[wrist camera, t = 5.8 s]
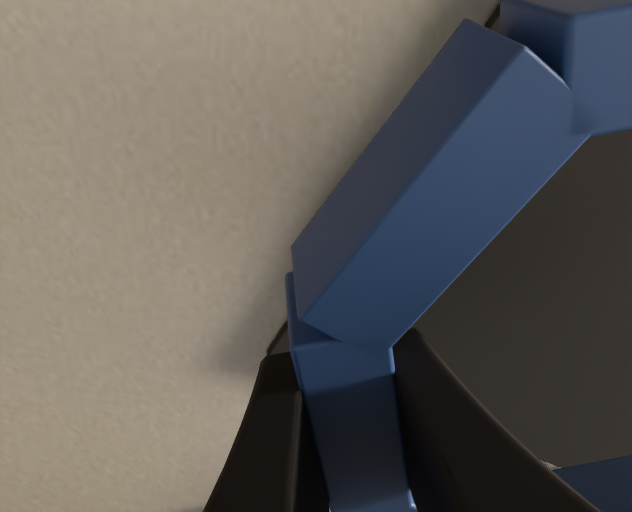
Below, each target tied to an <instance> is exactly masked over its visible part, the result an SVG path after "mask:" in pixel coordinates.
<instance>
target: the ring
mask: <svg viewBox="0 0 632 512" xmlns="http://www.w3.org/2000/svg"><path fill="white" fill-rule="evenodd" d="M630 129H632V0H501V2H500V34H499V33H497V32H495V31H493V30H490V29H488V28H486V27H484V26H482V25H480V24H477V23H475V22H473V21H471V20H469V19H465V20H463V21H462V23H461V24H460V25H459V26H458V28H457V29H456V30H455V32H454V33H453V34H452V36H451V37H450V38H449V40H448V41H447V42H446V44H445V45H444V46H443V47H442V49H441V50H440V51H439V53H438V54H437V55H436V57H435V58H434V59H433V61H432V62H431V63H430V65H429V66H428V67H427V68H426V70H425V71H424V72H423V74H422V75H421V76H420V78H419V79H418V80H417V82H416V83H415V84H414V86H413V87H412V88H411V89H410V91H409V92H408V93H407V95H406V96H405V97H404V99H403V100H402V101H401V103H400V104H399V105H398V107H397V108H396V109H395V110H394V112H393V113H392V114H391V116H390V117H389V118H388V120H387V121H386V122H385V124H384V125H383V126H382V128H381V129H380V130H379V131H378V133H377V134H376V135H375V137H374V138H373V139H372V141H371V142H370V143H369V145H368V146H367V147H366V149H365V150H364V151H363V152H362V154H361V155H360V156H359V158H358V159H357V160H356V162H355V163H354V164H353V166H352V167H351V168H350V169H349V171H348V172H347V173H346V175H345V176H344V177H343V179H342V180H341V181H340V183H339V184H338V185H337V187H336V188H335V189H334V190H333V192H332V193H331V194H330V196H329V197H328V198H327V200H326V201H325V202H324V204H323V205H322V206H321V208H320V209H319V210H318V211H317V213H316V214H315V215H314V217H313V218H312V219H311V221H310V222H309V223H308V225H307V226H306V227H305V229H304V230H303V231H302V232H301V234H300V235H299V236H298V238H297V239H296V240H295V242H294V243H293V244H292V246H291V253H292V264H293V272H289V273H287V274H286V275H285V288H286V302H287V317H288V331H289V345H290V353H291V357H292V361H293V365H294V369H295V373H296V377H297V381H298V384H299V388H300V389H301V393H302V397H303V401H304V405H305V409H306V413H307V417H308V421H309V425H310V429H311V433H312V437H313V441H314V445H315V449H316V453H317V456H318V460H319V464H320V468H321V472H322V476H323V480H324V484H325V488H326V492H327V496H328V500H329V507H330V511H331V512H418V511H417V508H416V506H415V503H414V500H413V497H412V494H411V491H410V488H409V481H408V473H407V465H406V458H405V450H404V442H403V435H402V427H401V419H400V412H399V404H398V396H397V389H396V381H395V373H394V372H395V365H394V358H393V350H392V346H393V345H394V344H395V343H396V342H397V341H398V340H399V339H400V338H401V337H402V336H403V335H404V334H405V332H406V331H407V330H408V329H409V328H410V327H411V326H412V325H413V324H414V323H415V322H416V321H417V320H418V319H419V318H420V317H421V315H422V314H423V313H424V312H425V311H426V310H427V309H428V308H429V307H430V306H431V305H432V304H433V303H434V302H435V301H436V299H437V298H438V297H439V296H440V295H441V294H442V293H443V292H444V291H445V290H446V289H447V288H448V287H449V286H450V285H451V283H452V282H453V281H454V280H455V279H456V278H457V277H458V276H459V275H460V274H461V273H462V272H463V271H464V270H465V269H466V268H467V266H468V265H469V264H470V263H471V262H472V261H473V260H474V259H475V258H476V257H477V256H478V255H479V254H480V253H481V252H482V250H483V249H484V248H485V247H486V246H487V245H488V244H489V243H490V242H491V241H492V240H493V239H494V238H495V237H496V236H497V234H498V233H499V232H500V231H501V230H502V229H503V228H504V227H505V226H506V225H507V224H508V223H509V222H510V221H511V220H512V219H513V217H514V216H515V215H516V214H517V213H518V212H519V211H520V210H521V209H522V208H523V207H524V206H525V205H526V204H527V203H528V201H529V200H530V199H531V198H532V197H533V196H534V195H535V194H536V193H537V192H538V191H539V190H540V189H541V188H542V187H543V185H544V184H545V183H546V182H547V181H548V180H549V179H550V178H551V177H552V176H553V175H554V174H555V173H556V172H557V171H558V170H559V168H560V167H561V166H562V165H563V164H564V163H565V162H566V161H567V160H568V159H569V158H570V157H571V156H572V155H573V154H574V152H575V151H576V150H577V149H578V148H579V147H580V146H581V145H582V144H583V143H584V142H585V141H586V140H587V139H588V138H589V137H593V136H598V135H604V134H609V133H614V132H619V131H624V130H630ZM552 471H553V472H554V473H555V474H557V475H558V476H559V477H560V478H561V479H562V480H564V481H565V482H566V483H567V484H568V485H569V486H571V487H572V488H573V489H574V490H576V491H577V492H578V493H579V494H580V495H582V496H583V497H584V498H585V499H587V500H588V501H589V502H590V503H592V504H593V505H594V506H595V507H596V508H598V509H599V510H600V511H601V512H632V455H630V456H624V457H619V458H614V459H608V460H603V461H597V462H592V463H586V464H581V465H576V466H570V467H565V468H559V469H554V470H552Z"/></svg>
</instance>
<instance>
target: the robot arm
mask: <svg viewBox="0 0 632 512" xmlns="http://www.w3.org/2000/svg"><path fill="white" fill-rule="evenodd" d="M392 350H393V358H394V365H395V372H394V373H395V381H396V389H397V396H398V404H399V412H400V419H401V427H402V435H403V442H404V450H405V458H406V465H407V473H408V481H409V488H410V491H411V494H412V497H413V500H414V503H415V506H416V508H417V511H418V512H601V511H600V510H599V509H598V508H596V507H595V506H594V505H593V504H592V503H590V502H589V501H588V500H587V499H585V498H584V497H583V496H582V495H580V494H579V493H578V492H577V491H576V490H574V489H573V488H572V487H571V486H569V485H568V484H567V483H566V482H565V481H564V480H562V479H561V478H560V477H559V476H558V475H557V474H555V473H554V472H553V471H552V470H551V469H550V468H549V467H547V466H546V465H545V464H544V463H543V462H542V461H541V460H540V459H538V458H537V457H536V456H535V455H534V454H533V453H532V452H531V451H530V450H529V449H528V448H527V447H525V446H524V445H523V444H522V443H521V442H520V441H519V440H518V439H517V438H516V437H515V436H514V435H513V434H512V433H511V432H510V431H509V430H508V429H506V428H505V427H504V426H503V425H502V424H501V423H500V422H499V421H498V420H497V419H496V418H495V417H494V416H493V415H492V413H491V412H490V411H489V410H488V409H487V408H486V407H485V406H484V405H483V404H482V403H481V402H480V401H479V400H478V399H477V398H476V397H475V396H474V395H473V394H472V393H471V392H470V391H469V389H468V388H467V387H466V386H465V385H464V384H463V383H462V382H461V381H460V379H459V378H458V377H457V376H456V375H455V374H454V373H453V371H452V370H451V369H450V368H449V367H448V366H447V364H446V363H445V362H444V361H443V360H442V358H441V357H440V356H439V355H438V353H437V352H436V351H435V350H434V348H433V347H432V346H431V344H430V343H429V342H428V340H427V339H426V338H425V336H424V335H423V333H422V332H421V331H419V330H417V329H416V328H412V329H408V330H407V331H406V332H405V334H404V335H403V336H402V337H401V338H400V339H399V340H398V341H397V342H396V343H395V344H394V345H393V346H392ZM203 512H329V500H328V496H327V492H326V488H325V484H324V480H323V476H322V472H321V468H320V464H319V460H318V456H317V453H316V449H315V445H314V441H313V437H312V433H311V429H310V425H309V421H308V417H307V413H306V409H305V405H304V401H303V397H302V393H301V389H300V388H299V384H298V381H297V377H296V373H295V369H294V365H293V361H292V357H291V353H290V352H284V353H279V354H274V355H268V356H265V358H264V359H263V360H262V361H261V363H260V367H259V371H258V375H257V378H256V382H255V385H254V388H253V392H252V395H251V398H250V401H249V404H248V406H247V409H246V412H245V415H244V418H243V420H242V423H241V426H240V428H239V431H238V433H237V436H236V438H235V441H234V443H233V446H232V448H231V451H230V453H229V456H228V458H227V461H226V463H225V465H224V468H223V470H222V472H221V474H220V476H219V478H218V481H217V483H216V485H215V487H214V489H213V491H212V493H211V496H210V498H209V500H208V502H207V504H206V506H205V508H204V510H203Z"/></svg>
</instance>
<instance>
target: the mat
mask: <svg viewBox="0 0 632 512" xmlns="http://www.w3.org/2000/svg"><path fill="white" fill-rule="evenodd" d="M485 27H486V28H488V29H490V30H493V31H495V32H497V33H499V34H500V5H499V6H498V8H497V9H496V11H495V12H494V14H493V15H492V17H491V18H490V20H489V21H488V22H487V24H486V25H485ZM412 328H416V329H417V330H419V331H421V332H422V333H423V335H424V336H425V338H426V339H427V340H428V342H429V343H430V344H431V346H432V347H433V348H434V350H435V351H436V352H437V353H438V355H439V356H440V357H441V358H442V360H443V361H444V362H445V363H446V364H447V366H448V367H449V368H450V369H451V370H452V371H453V373H454V374H455V375H456V376H457V377H458V378H459V379H460V381H461V382H462V383H463V384H464V385H465V386H466V387H467V388H468V389H469V391H470V392H471V393H472V394H473V395H474V396H475V397H476V398H477V399H478V400H479V401H480V402H481V403H482V404H483V405H484V406H485V407H486V408H487V409H488V410H489V411H490V412H491V413H492V415H493V416H494V417H495V418H496V419H497V420H498V421H499V422H500V423H501V424H502V425H503V426H504V427H505V428H506V429H508V430H509V431H510V432H511V433H512V434H513V435H514V436H515V437H516V438H517V439H518V440H519V441H520V442H521V443H522V444H523V445H524V446H525V447H527V448H528V449H529V450H530V451H531V452H532V453H533V454H534V455H535V456H536V457H537V458H538V459H540V460H542V461H545V462H547V463H550V464H553V465H555V466H558V467H561V468H565V467H570V466H576V465H581V464H586V463H592V462H597V461H603V460H608V459H614V458H619V457H624V456H630V455H632V129H630V130H624V131H619V132H614V133H609V134H604V135H598V136H593V137H589V138H588V139H587V140H586V141H585V142H584V143H583V144H582V145H581V146H580V147H579V148H578V149H577V150H576V151H575V152H574V154H573V155H572V156H571V157H570V158H569V159H568V160H567V161H566V162H565V163H564V164H563V165H562V166H561V167H560V168H559V170H558V171H557V172H556V173H555V174H554V175H553V176H552V177H551V178H550V179H549V180H548V181H547V182H546V183H545V184H544V185H543V187H542V188H541V189H540V190H539V191H538V192H537V193H536V194H535V195H534V196H533V197H532V198H531V199H530V200H529V201H528V203H527V204H526V205H525V206H524V207H523V208H522V209H521V210H520V211H519V212H518V213H517V214H516V215H515V216H514V217H513V219H512V220H511V221H510V222H509V223H508V224H507V225H506V226H505V227H504V228H503V229H502V230H501V231H500V232H499V233H498V234H497V236H496V237H495V238H494V239H493V240H492V241H491V242H490V243H489V244H488V245H487V246H486V247H485V248H484V249H483V250H482V252H481V253H480V254H479V255H478V256H477V257H476V258H475V259H474V260H473V261H472V262H471V263H470V264H469V265H468V266H467V268H466V269H465V270H464V271H463V272H462V273H461V274H460V275H459V276H458V277H457V278H456V279H455V280H454V281H453V282H452V283H451V285H450V286H449V287H448V288H447V289H446V290H445V291H444V292H443V293H442V294H441V295H440V296H439V297H438V298H437V299H436V301H435V302H434V303H433V304H432V305H431V306H430V307H429V308H428V309H427V310H426V311H425V312H424V313H423V314H422V315H421V317H420V318H419V319H418V320H417V321H416V322H415V323H414V324H413V325H412V326H411V327H410V328H409V329H412ZM284 352H290V345H289V331H288V321H287V322H286V324H285V325H284V326H283V328H282V329H281V331H280V332H279V334H278V335H277V337H276V338H275V340H274V341H273V343H272V344H271V346H270V347H269V349H268V350H267V356H268V355H274V354H279V353H284Z"/></svg>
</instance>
